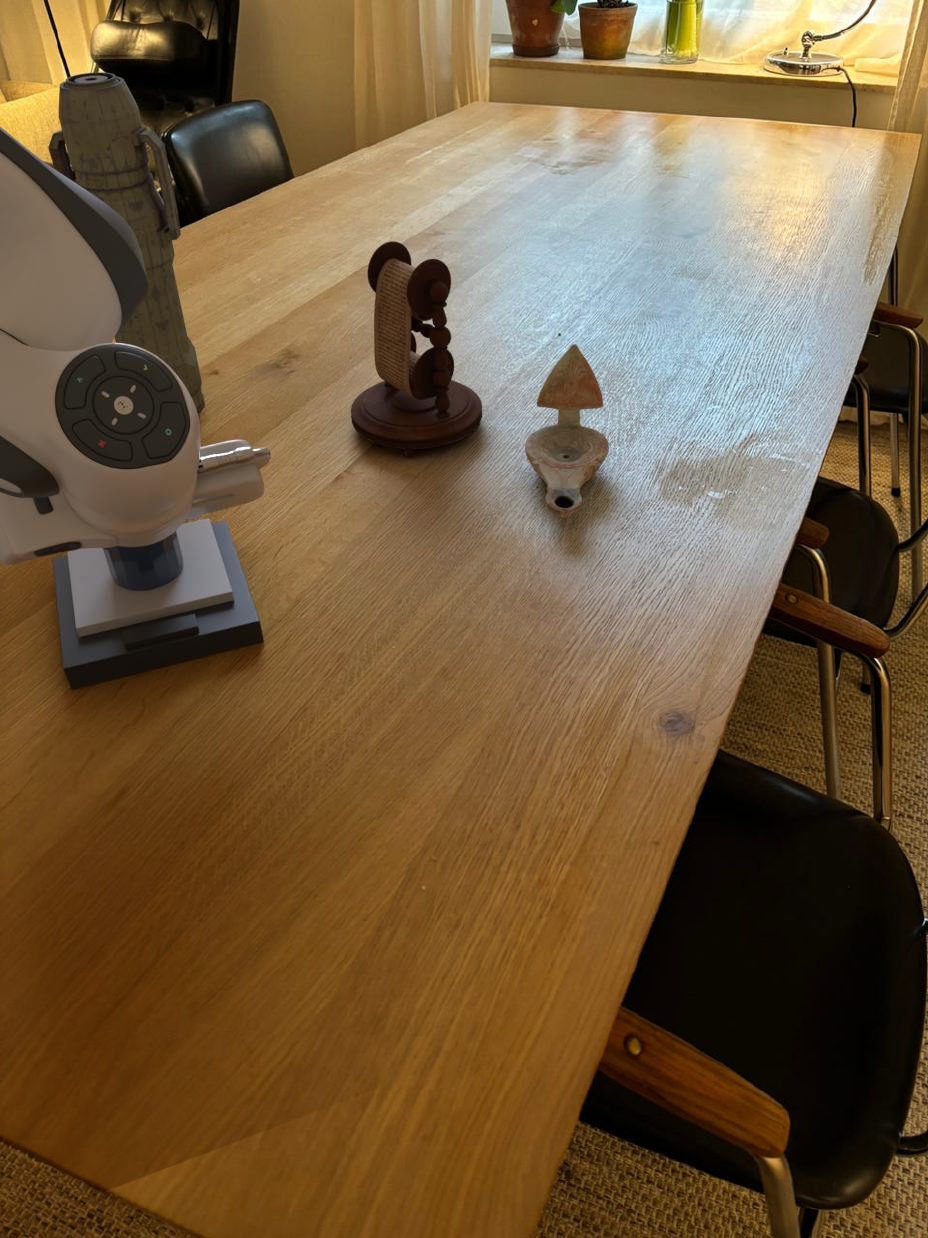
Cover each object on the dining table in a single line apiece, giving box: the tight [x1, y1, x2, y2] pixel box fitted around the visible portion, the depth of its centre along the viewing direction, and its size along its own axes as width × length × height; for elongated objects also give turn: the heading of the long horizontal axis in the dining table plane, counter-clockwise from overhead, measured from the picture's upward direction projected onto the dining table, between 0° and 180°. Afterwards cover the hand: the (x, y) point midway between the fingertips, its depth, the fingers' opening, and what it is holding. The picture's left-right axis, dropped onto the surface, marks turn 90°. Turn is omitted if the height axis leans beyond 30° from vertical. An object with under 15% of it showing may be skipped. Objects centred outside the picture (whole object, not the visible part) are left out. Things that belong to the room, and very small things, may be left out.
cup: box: [103, 531, 184, 591], centre depth 85 cm, size 6×6×9 cm
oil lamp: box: [524, 343, 610, 519], centre depth 101 cm, size 9×21×10 cm, turn 173°
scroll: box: [350, 240, 483, 459], centre depth 106 cm, size 15×15×20 cm
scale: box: [52, 517, 265, 691], centre depth 88 cm, size 16×16×3 cm
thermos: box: [47, 71, 205, 414], centre depth 106 cm, size 9×12×35 cm
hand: (133, 524), depth 82 cm, fingers open, 8 cm apart
